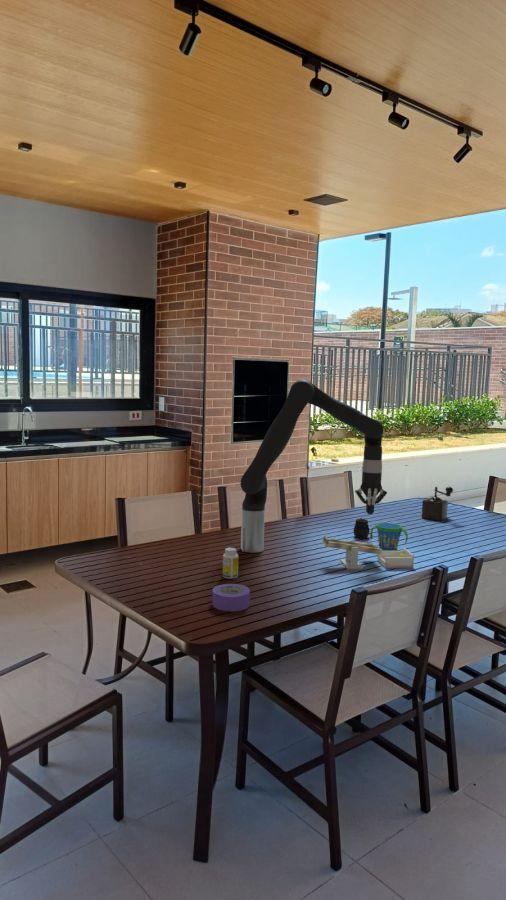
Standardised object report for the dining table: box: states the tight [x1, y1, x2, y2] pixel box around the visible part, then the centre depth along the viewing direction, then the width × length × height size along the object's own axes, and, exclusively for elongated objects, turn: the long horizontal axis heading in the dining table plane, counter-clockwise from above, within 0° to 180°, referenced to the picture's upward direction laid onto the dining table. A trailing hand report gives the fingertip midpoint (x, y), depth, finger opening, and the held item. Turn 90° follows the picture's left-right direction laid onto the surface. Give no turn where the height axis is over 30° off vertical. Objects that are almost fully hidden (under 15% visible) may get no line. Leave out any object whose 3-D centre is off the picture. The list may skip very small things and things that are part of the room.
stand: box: [339, 547, 364, 570], centre depth 249 cm, size 6×11×8 cm, turn 6°
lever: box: [322, 535, 383, 555], centre depth 252 cm, size 22×12×3 cm, turn 96°
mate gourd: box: [353, 517, 371, 539], centre depth 293 cm, size 7×8×10 cm
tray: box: [377, 547, 415, 569], centre depth 252 cm, size 11×10×5 cm
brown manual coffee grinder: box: [421, 486, 454, 522], centre depth 335 cm, size 16×11×18 cm
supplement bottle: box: [222, 547, 239, 580], centre depth 231 cm, size 6×6×10 cm
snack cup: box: [369, 522, 409, 551], centre depth 273 cm, size 16×10×10 cm
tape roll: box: [212, 583, 251, 612], centre depth 203 cm, size 12×12×5 cm
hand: (369, 514), depth 255 cm, fingers closed
